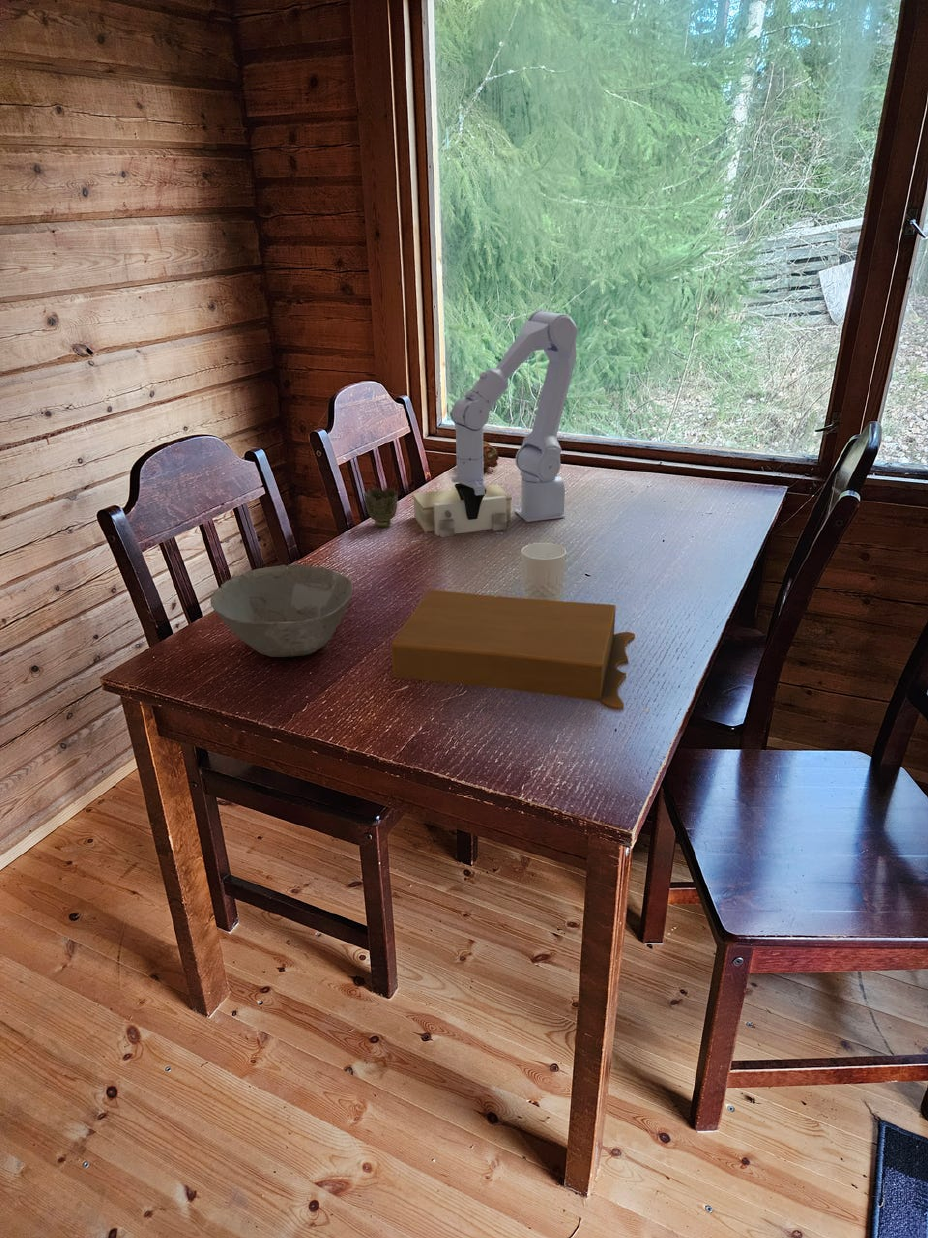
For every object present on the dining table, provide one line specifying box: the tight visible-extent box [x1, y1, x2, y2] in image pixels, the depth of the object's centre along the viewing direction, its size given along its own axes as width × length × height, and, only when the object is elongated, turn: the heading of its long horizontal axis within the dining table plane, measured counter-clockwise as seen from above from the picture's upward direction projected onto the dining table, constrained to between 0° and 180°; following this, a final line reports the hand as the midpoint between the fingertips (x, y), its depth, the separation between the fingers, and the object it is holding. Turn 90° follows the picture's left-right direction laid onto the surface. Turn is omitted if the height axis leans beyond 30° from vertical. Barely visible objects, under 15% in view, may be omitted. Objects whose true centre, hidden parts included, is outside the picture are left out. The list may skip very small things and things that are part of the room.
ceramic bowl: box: [210, 563, 354, 658], centre depth 136 cm, size 22×23×10 cm
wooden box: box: [390, 588, 636, 711], centre depth 132 cm, size 23×6×35 cm
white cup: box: [520, 542, 567, 601], centre depth 149 cm, size 8×8×10 cm
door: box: [434, 495, 506, 536], centre depth 183 cm, size 16×3×7 cm, turn 106°
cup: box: [363, 487, 399, 529], centre depth 186 cm, size 8×7×8 cm
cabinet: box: [411, 484, 513, 538], centre depth 188 cm, size 20×15×6 cm
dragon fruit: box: [483, 440, 500, 473], centre depth 224 cm, size 8×8×12 cm
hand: (470, 517), depth 183 cm, fingers closed
